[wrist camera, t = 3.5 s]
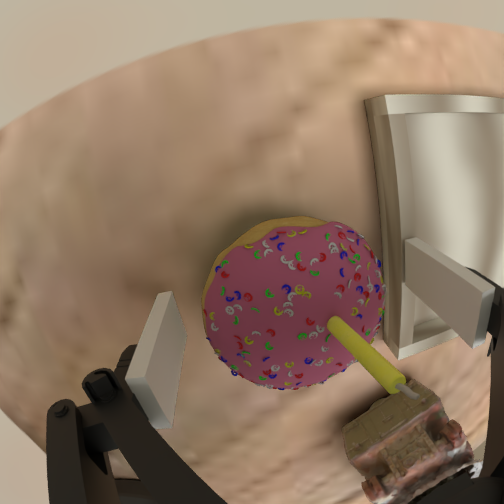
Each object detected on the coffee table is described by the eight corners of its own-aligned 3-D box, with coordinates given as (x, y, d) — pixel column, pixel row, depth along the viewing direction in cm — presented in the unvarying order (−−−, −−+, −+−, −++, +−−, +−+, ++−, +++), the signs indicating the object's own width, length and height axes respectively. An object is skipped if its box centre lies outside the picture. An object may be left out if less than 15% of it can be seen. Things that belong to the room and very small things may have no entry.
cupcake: (297, 168, 17) (435, 221, 5) (372, 279, 19) (492, 406, 8) (174, 264, 18) (121, 436, 7) (265, 357, 20) (300, 522, 9)
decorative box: (463, 330, 22) (532, 399, 13) (465, 434, 29) (499, 484, 19) (328, 411, 23) (364, 509, 14) (375, 486, 30) (398, 544, 20)
